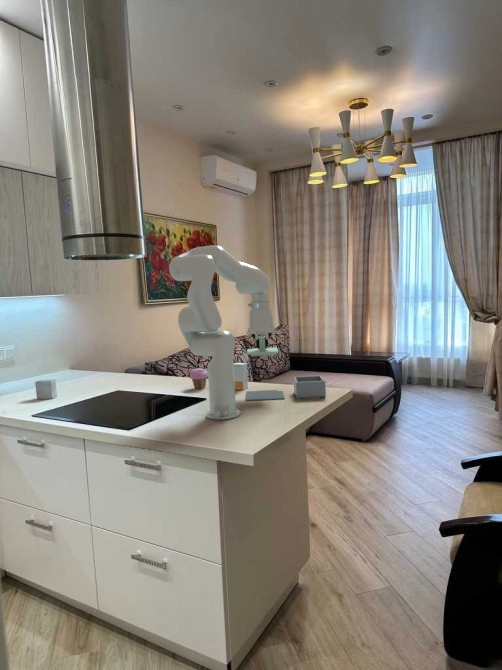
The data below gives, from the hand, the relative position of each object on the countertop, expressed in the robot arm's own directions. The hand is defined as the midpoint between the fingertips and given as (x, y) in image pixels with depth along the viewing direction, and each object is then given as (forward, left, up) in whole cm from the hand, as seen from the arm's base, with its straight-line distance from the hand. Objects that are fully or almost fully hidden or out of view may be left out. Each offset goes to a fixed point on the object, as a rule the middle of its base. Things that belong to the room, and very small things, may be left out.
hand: (262, 348), depth 189 cm
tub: (-3, -19, -21) cm, 28 cm away
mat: (0, 0, -21) cm, 21 cm away
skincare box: (+17, +11, -21) cm, 29 cm away
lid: (0, 0, -2) cm, 2 cm away
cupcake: (+22, +31, -21) cm, 43 cm away
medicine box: (+17, +103, -21) cm, 106 cm away
